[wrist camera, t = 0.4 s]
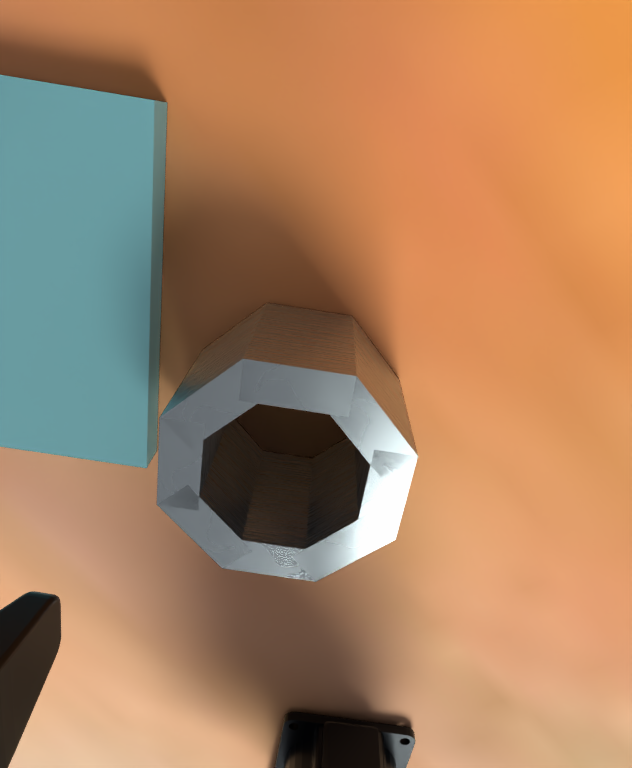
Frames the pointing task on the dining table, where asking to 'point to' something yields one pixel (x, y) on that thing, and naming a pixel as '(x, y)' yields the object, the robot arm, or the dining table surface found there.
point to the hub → (281, 471)
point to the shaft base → (80, 270)
